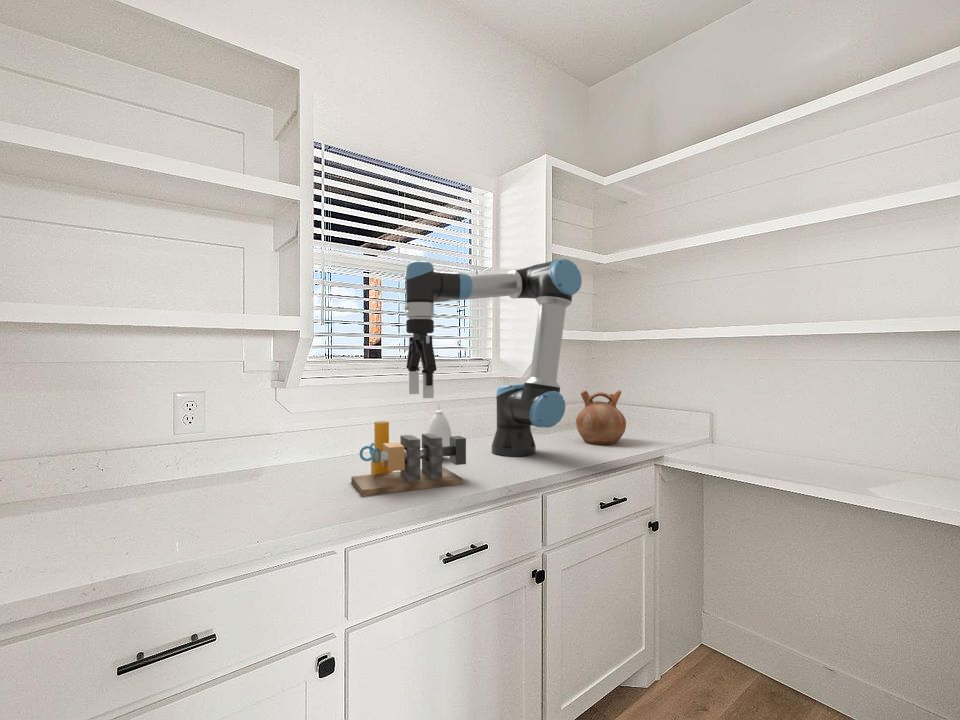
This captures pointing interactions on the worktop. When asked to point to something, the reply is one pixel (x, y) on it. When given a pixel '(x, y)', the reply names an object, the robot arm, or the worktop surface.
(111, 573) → the worktop surface
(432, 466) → the jig
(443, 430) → the sauce bottle
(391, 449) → the block
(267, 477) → the worktop surface
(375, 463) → the cylinder
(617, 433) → the jug
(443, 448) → the shaft
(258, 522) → the worktop surface
